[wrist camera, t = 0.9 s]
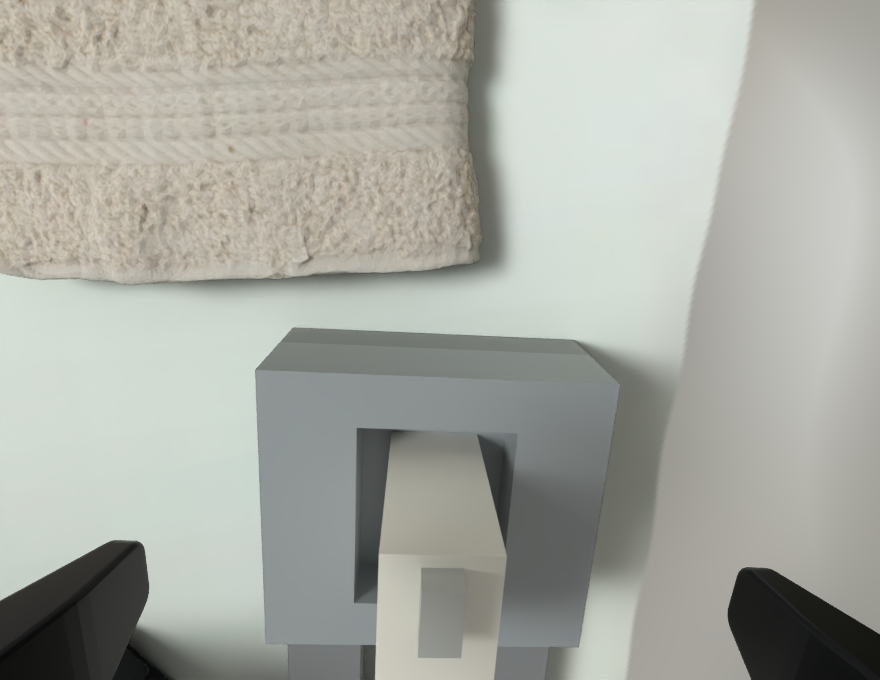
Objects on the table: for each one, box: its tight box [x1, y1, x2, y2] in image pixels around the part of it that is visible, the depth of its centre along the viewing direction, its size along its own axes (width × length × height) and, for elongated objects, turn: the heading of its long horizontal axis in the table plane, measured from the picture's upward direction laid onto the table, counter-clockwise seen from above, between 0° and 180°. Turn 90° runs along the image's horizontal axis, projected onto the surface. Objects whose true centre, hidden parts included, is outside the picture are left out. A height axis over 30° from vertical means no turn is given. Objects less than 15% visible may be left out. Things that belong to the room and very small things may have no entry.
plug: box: [375, 431, 507, 680], centre depth 16 cm, size 4×3×7 cm, turn 177°
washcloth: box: [0, 0, 482, 285], centre depth 17 cm, size 12×18×3 cm, turn 92°
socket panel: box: [255, 328, 620, 680], centre depth 21 cm, size 20×11×5 cm, turn 177°
